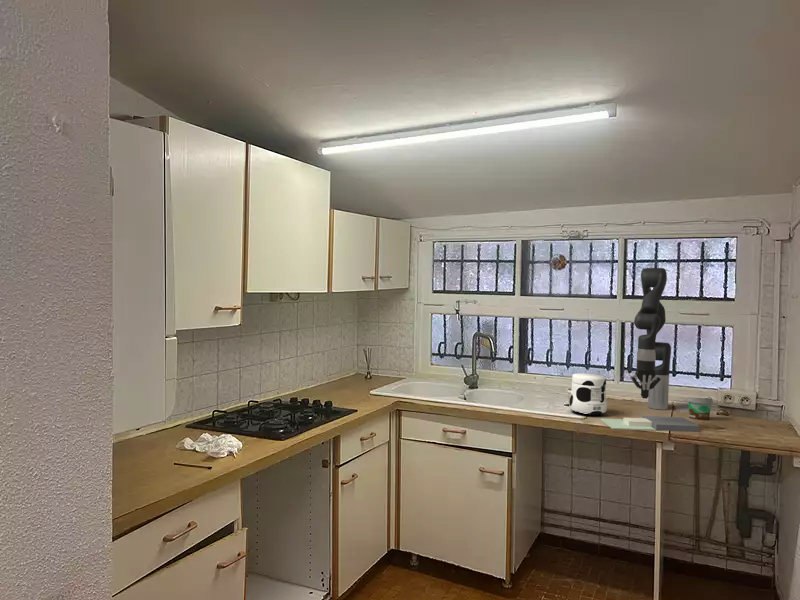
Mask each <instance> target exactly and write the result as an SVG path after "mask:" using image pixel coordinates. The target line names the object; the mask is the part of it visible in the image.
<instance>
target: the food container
mask: <svg viewBox="0 0 800 600" xmlns="http://www.w3.org/2000/svg"><path fill="white" fill-rule="evenodd" d="M707 396H708V397H706V398H705V397H690V396H688V398H687V402H688V418H689V419H692V420H696V419H697V420H698V421H708V420H710V416H711V408H712V407H711V406H712V404H713V403H714V400H713V398H712V396H709V395H707ZM697 420H696V421H697Z"/></svg>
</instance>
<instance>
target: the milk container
mask: <svg viewBox="0 0 800 600" xmlns="http://www.w3.org/2000/svg"><path fill="white" fill-rule="evenodd" d="M606 391H607V378H606V376H604V375H602V374H598V373H597V374H596V373H583V372H582V373H581V372H580V373H573V374H572V376H571V392H570V397H569V401H568V405H569V409H570V410H571V411H572V410H573V411H576V412H583V413H588V415H587V416H599V415H603V414H605V413H606V412H607V409H608V401H607V397H606V396H607V395H606ZM573 411H572V412H573Z"/></svg>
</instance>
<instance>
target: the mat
mask: <svg viewBox="0 0 800 600" xmlns="http://www.w3.org/2000/svg"><path fill="white" fill-rule="evenodd" d="M623 419H624V418H622V419H621V418H600V420H601V421H602V422H603V423H604V424H606V425H607V426H608V427H610V429H612V430H630V431H634V430H635V431H654V430H655V429H654V428H652V427H645V426H628V425H627V424H625V423H624V422H623ZM655 431H656V430H655Z"/></svg>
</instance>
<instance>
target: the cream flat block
mask: <svg viewBox="0 0 800 600" xmlns="http://www.w3.org/2000/svg"><path fill="white" fill-rule="evenodd" d="M622 419H623V422H624V423H625V424H627V425H628V426H645V427H652V422H651V421H650V420H648V419H646V418H642V417H623V418H622Z"/></svg>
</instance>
